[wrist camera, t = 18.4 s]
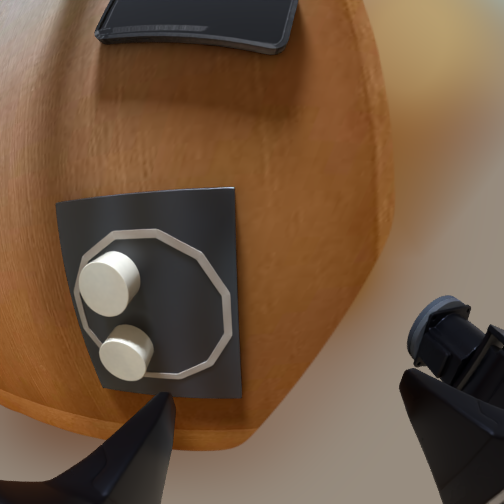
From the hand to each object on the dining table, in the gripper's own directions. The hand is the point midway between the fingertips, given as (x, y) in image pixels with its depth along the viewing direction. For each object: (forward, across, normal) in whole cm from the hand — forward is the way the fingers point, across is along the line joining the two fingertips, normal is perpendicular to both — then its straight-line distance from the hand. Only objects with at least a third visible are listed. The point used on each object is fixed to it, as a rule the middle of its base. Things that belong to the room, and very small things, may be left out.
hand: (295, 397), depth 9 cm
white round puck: (+11, +11, -1) cm, 15 cm away
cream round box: (+11, +11, +5) cm, 16 cm away
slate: (+12, +9, +2) cm, 15 cm away
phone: (+12, +5, -22) cm, 25 cm away
